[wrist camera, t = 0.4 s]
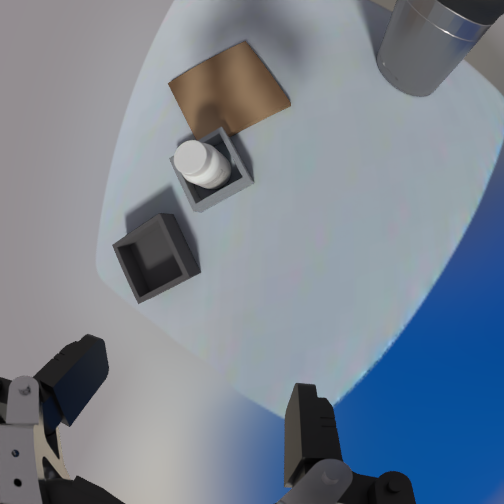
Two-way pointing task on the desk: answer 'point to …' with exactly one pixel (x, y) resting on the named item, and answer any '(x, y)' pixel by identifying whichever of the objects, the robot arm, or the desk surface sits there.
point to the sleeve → (227, 191)
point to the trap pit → (155, 257)
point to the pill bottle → (202, 164)
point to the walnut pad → (228, 92)
